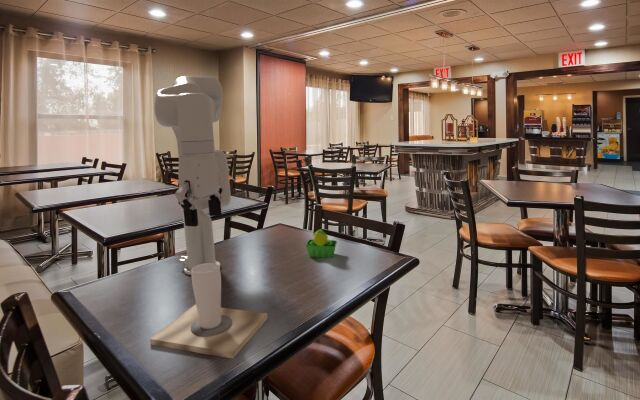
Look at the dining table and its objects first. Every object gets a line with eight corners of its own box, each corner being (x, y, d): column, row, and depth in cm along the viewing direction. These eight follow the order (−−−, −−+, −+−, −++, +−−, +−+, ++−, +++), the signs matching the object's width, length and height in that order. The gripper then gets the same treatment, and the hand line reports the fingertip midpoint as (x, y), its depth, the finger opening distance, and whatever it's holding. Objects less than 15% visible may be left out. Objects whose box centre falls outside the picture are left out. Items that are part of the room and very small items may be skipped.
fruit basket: (337, 252, 150) (337, 225, 148) (334, 260, 142) (333, 231, 139) (309, 251, 152) (308, 224, 150) (304, 259, 144) (303, 230, 142)
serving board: (150, 344, 90) (149, 337, 89) (195, 309, 107) (195, 303, 106) (233, 358, 83) (232, 351, 83) (267, 318, 100) (267, 312, 100)
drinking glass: (199, 318, 98) (194, 263, 95) (226, 316, 98) (222, 262, 95) (193, 332, 91) (187, 274, 88) (222, 330, 92) (217, 272, 89)
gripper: (205, 146, 97) (210, 211, 100) (158, 152, 80) (166, 229, 84) (231, 146, 94) (236, 212, 98) (188, 152, 78) (196, 231, 82)
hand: (204, 220), depth 91 cm, fingers open, 9 cm apart
